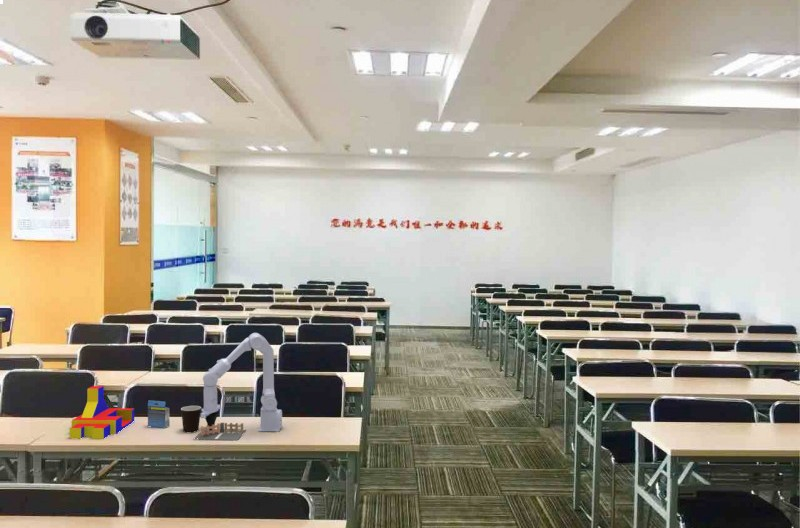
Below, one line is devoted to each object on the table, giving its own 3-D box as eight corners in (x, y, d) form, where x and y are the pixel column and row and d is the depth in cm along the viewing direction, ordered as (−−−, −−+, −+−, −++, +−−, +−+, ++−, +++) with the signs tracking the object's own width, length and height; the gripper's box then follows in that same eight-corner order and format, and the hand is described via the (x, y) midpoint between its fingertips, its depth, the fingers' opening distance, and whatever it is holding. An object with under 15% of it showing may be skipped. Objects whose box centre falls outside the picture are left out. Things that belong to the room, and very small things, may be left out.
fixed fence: (243, 432, 256) (243, 422, 256) (242, 434, 254) (242, 423, 254) (220, 432, 256) (220, 422, 256) (219, 433, 254) (219, 423, 254)
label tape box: (169, 426, 264) (170, 399, 264) (165, 428, 260) (165, 401, 260) (152, 424, 266) (152, 398, 265) (147, 427, 262) (147, 400, 261)
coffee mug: (196, 433, 254) (197, 411, 254) (177, 433, 254) (177, 410, 254) (206, 425, 266) (206, 404, 265) (187, 425, 266) (187, 403, 266)
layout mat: (246, 430, 259) (246, 429, 259) (237, 440, 245) (237, 439, 245) (204, 429, 259) (204, 429, 259) (192, 439, 245) (192, 439, 245)
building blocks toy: (64, 439, 244) (64, 396, 244) (93, 422, 269) (93, 383, 269) (109, 439, 245) (109, 397, 245) (134, 422, 270) (134, 383, 270)
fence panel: (218, 432, 254) (219, 423, 254) (219, 432, 254) (219, 423, 254) (200, 435, 250) (200, 426, 250) (201, 436, 249) (201, 427, 249)
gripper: (209, 394, 261) (210, 424, 261) (193, 403, 246) (194, 434, 247) (224, 395, 260) (224, 424, 260) (209, 404, 245) (209, 435, 246)
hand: (210, 429), depth 254 cm, fingers closed, pressing on fence panel
